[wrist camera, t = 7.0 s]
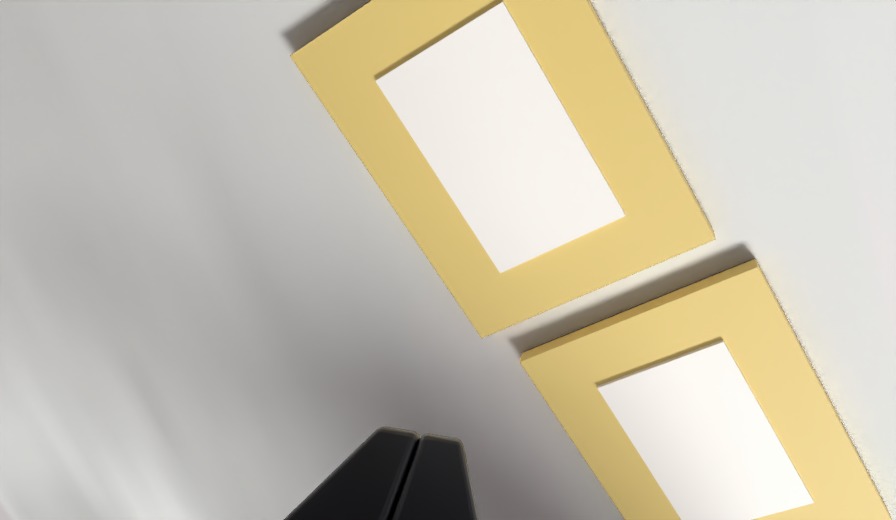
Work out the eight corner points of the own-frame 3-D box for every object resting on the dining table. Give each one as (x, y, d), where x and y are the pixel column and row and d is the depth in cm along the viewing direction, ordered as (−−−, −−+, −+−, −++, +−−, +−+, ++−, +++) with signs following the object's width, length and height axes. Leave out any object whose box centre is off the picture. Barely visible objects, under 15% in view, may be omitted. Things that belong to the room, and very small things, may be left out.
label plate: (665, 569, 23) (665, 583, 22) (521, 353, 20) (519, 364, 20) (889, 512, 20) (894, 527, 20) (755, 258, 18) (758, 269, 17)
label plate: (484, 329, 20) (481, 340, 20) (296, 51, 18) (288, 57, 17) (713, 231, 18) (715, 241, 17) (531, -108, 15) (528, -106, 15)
